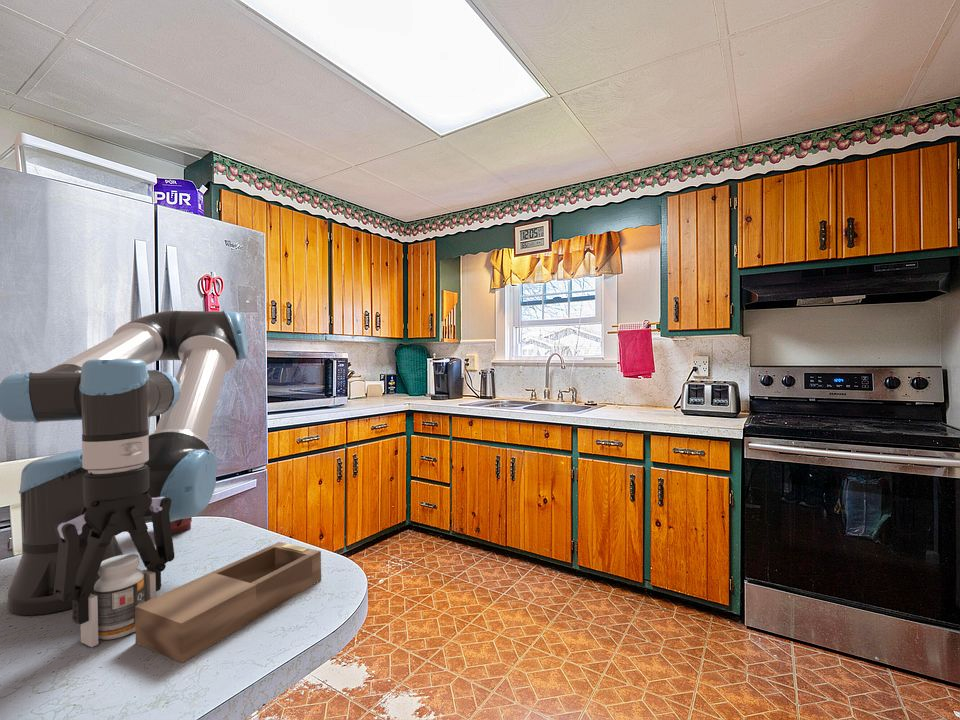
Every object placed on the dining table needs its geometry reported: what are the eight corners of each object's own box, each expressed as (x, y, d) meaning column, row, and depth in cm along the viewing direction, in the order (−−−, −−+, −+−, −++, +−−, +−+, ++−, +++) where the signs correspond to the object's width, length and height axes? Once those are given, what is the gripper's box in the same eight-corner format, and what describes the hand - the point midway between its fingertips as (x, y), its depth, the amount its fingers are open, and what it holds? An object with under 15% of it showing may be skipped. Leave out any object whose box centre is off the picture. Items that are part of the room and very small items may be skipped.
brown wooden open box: (135, 643, 64) (134, 604, 64) (279, 569, 86) (279, 540, 85) (182, 662, 60) (181, 622, 59) (321, 579, 81) (320, 549, 81)
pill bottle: (150, 627, 68) (149, 558, 67) (100, 647, 63) (99, 573, 63) (138, 614, 71) (136, 548, 71) (89, 631, 67) (88, 562, 67)
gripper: (42, 487, 56) (46, 679, 56) (201, 455, 74) (203, 601, 74) (12, 481, 60) (16, 662, 60) (171, 452, 77) (174, 591, 77)
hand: (120, 628), depth 67 cm, fingers open, 7 cm apart
